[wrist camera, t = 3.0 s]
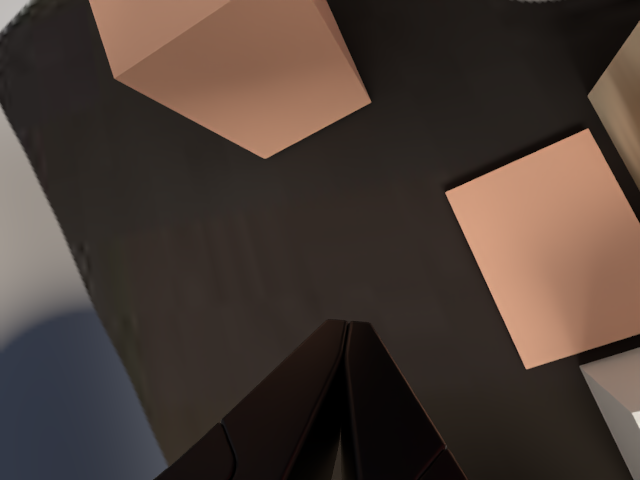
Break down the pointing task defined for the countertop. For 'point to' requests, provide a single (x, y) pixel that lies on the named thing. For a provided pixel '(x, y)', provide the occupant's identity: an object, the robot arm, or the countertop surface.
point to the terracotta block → (236, 64)
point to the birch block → (622, 102)
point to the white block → (619, 401)
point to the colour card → (555, 249)
